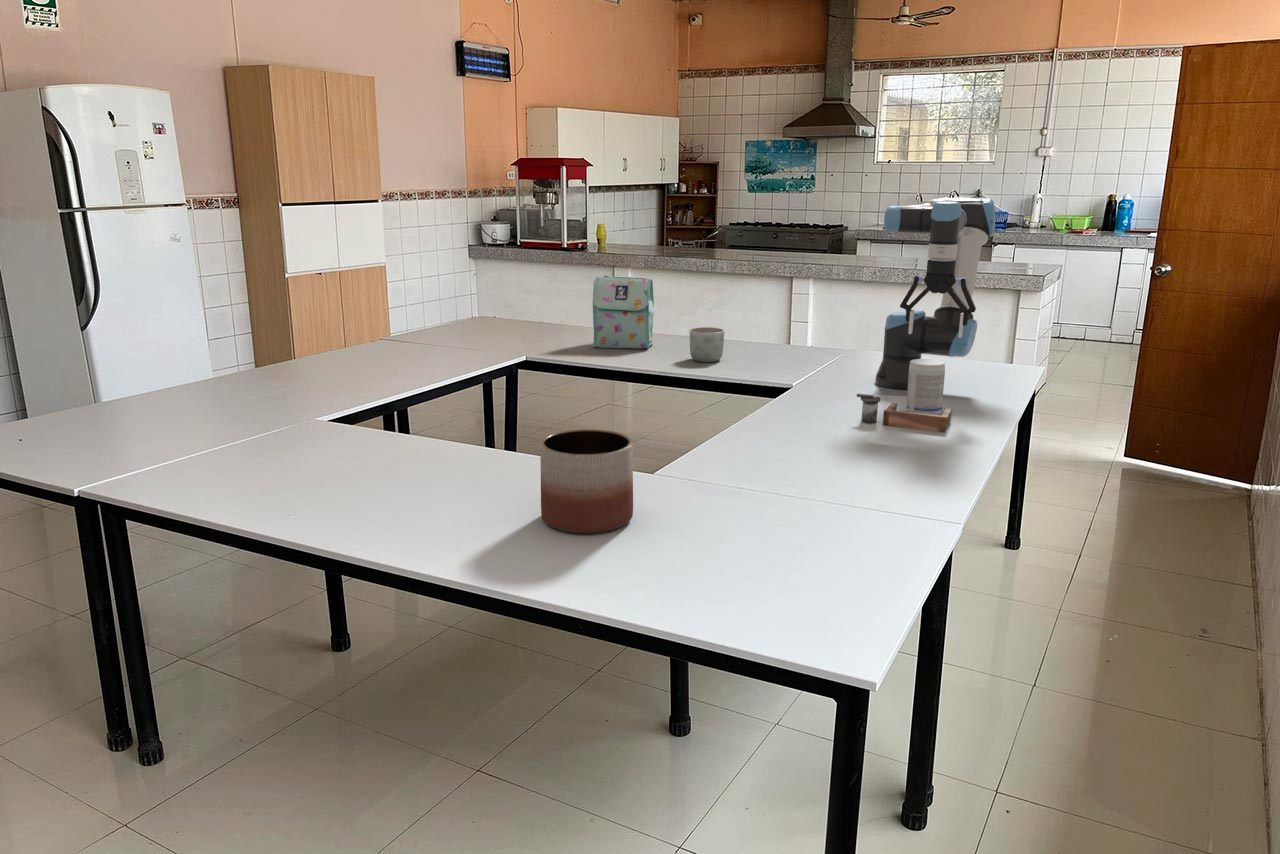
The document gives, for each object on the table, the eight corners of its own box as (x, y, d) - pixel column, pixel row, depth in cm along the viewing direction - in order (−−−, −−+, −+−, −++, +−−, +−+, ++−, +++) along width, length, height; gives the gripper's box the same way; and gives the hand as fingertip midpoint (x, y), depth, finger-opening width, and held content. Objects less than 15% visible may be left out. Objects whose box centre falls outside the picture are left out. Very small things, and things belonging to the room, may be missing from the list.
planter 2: (700, 355, 335) (701, 325, 332) (730, 359, 328) (731, 329, 325) (682, 360, 325) (682, 330, 322) (711, 365, 318) (712, 334, 315)
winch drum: (857, 417, 251) (859, 391, 249) (880, 420, 249) (882, 394, 247) (853, 422, 247) (855, 395, 245) (876, 425, 244) (879, 398, 242)
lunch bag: (589, 349, 346) (589, 277, 338) (598, 341, 361) (598, 272, 354) (649, 351, 342) (650, 279, 335) (656, 343, 358) (656, 274, 350)
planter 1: (558, 542, 166) (556, 460, 162) (529, 510, 182) (527, 434, 178) (647, 528, 173) (648, 448, 169) (612, 498, 189) (612, 425, 184)
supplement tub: (948, 414, 255) (953, 362, 251) (925, 419, 250) (930, 366, 246) (920, 407, 263) (925, 357, 259) (898, 411, 258) (902, 360, 254)
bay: (890, 414, 255) (891, 400, 254) (950, 421, 248) (951, 407, 247) (882, 425, 244) (883, 410, 243) (945, 432, 238) (946, 417, 237)
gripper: (893, 258, 255) (887, 334, 261) (988, 262, 245) (980, 340, 251) (897, 255, 261) (892, 329, 267) (990, 259, 251) (982, 335, 257)
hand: (935, 335), depth 259 cm, fingers open, 13 cm apart
